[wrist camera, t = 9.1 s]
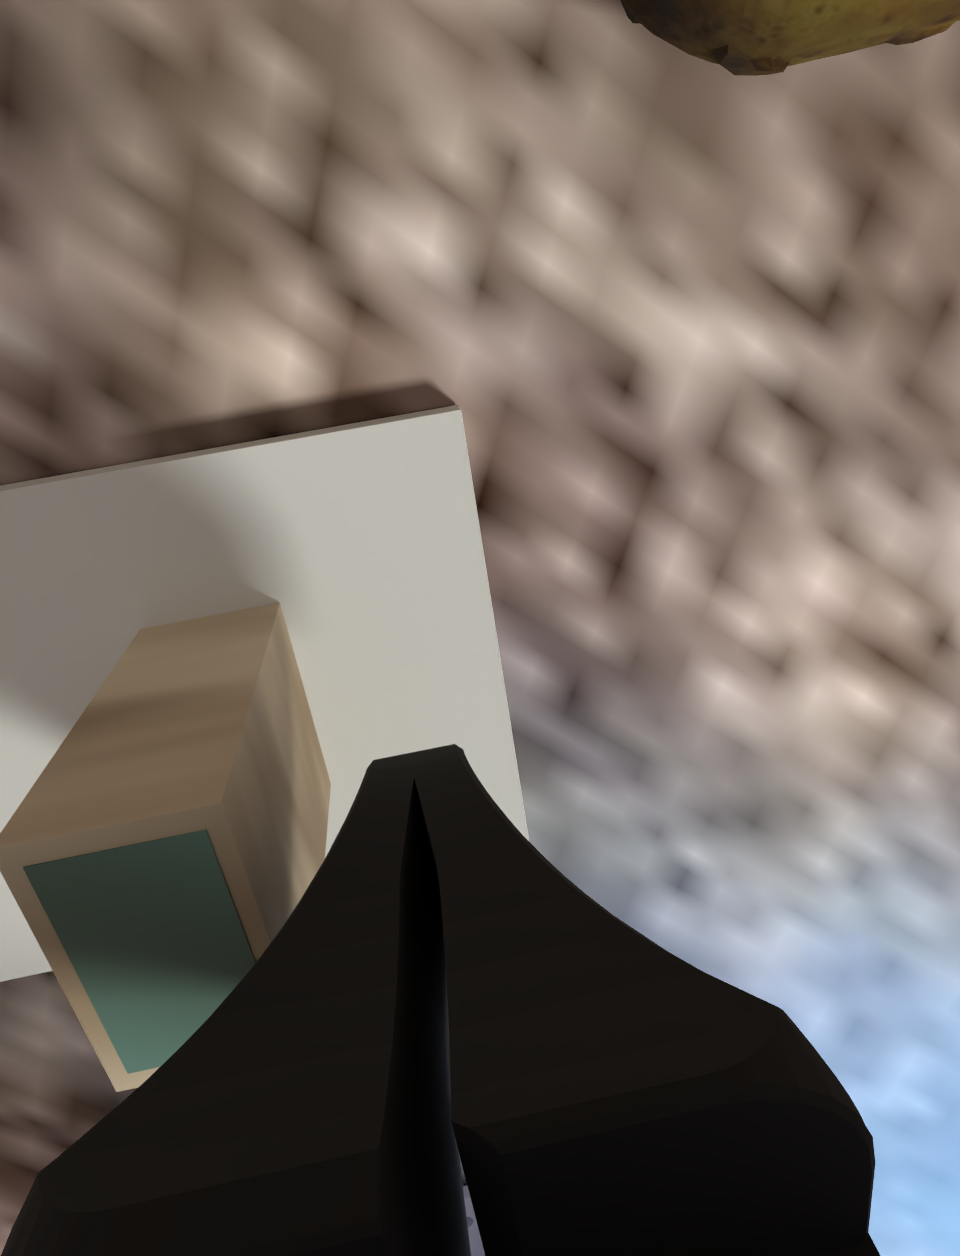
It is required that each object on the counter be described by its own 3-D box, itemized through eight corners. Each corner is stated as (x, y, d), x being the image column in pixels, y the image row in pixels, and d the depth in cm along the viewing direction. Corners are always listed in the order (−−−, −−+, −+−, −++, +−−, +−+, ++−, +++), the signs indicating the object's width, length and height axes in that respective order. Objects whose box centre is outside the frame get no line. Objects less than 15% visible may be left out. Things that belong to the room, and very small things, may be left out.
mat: (528, 851, 18) (533, 869, 17) (-99, 983, 17) (-115, 1006, 16) (457, 404, 14) (460, 409, 13) (-378, 552, 13) (-410, 563, 12)
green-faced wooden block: (331, 784, 16) (309, 1051, 10) (206, 808, 15) (116, 1093, 10) (279, 602, 14) (221, 803, 8) (140, 628, 14) (-12, 851, 8)
